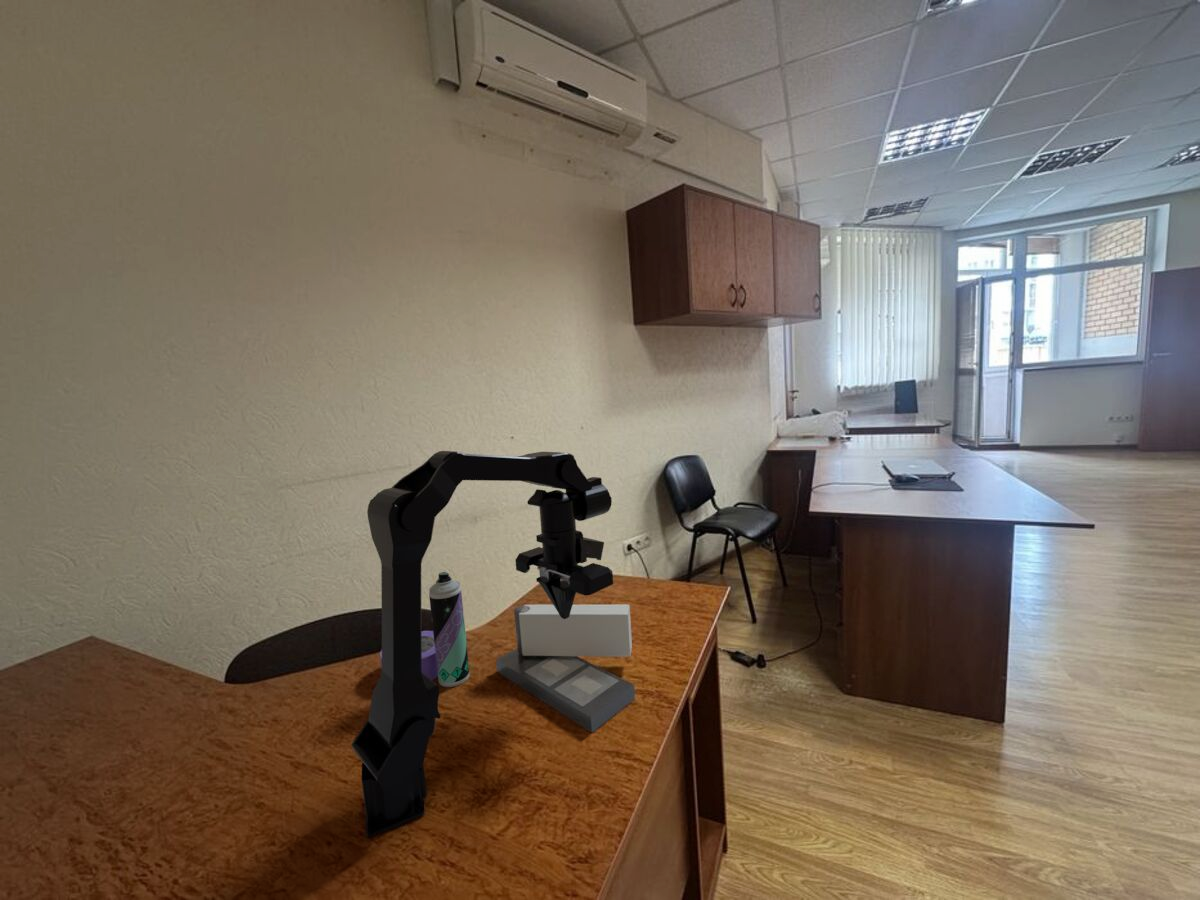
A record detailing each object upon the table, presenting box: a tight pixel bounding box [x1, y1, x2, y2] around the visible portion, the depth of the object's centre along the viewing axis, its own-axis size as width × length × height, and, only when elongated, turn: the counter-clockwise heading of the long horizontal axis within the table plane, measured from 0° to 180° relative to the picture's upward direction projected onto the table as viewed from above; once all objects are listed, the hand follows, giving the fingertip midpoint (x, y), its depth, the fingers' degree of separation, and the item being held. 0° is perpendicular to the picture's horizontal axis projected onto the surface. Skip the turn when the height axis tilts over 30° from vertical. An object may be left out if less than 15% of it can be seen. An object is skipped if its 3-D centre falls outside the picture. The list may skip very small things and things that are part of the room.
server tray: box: [495, 648, 636, 734], centre depth 82 cm, size 10×25×3 cm, turn 46°
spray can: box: [428, 571, 471, 688], centre depth 85 cm, size 6×6×20 cm
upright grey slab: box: [513, 603, 633, 658], centre depth 87 cm, size 22×4×8 cm, turn 82°
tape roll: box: [379, 630, 438, 681], centre depth 89 cm, size 12×12×5 cm
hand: (565, 617), depth 79 cm, fingers closed
